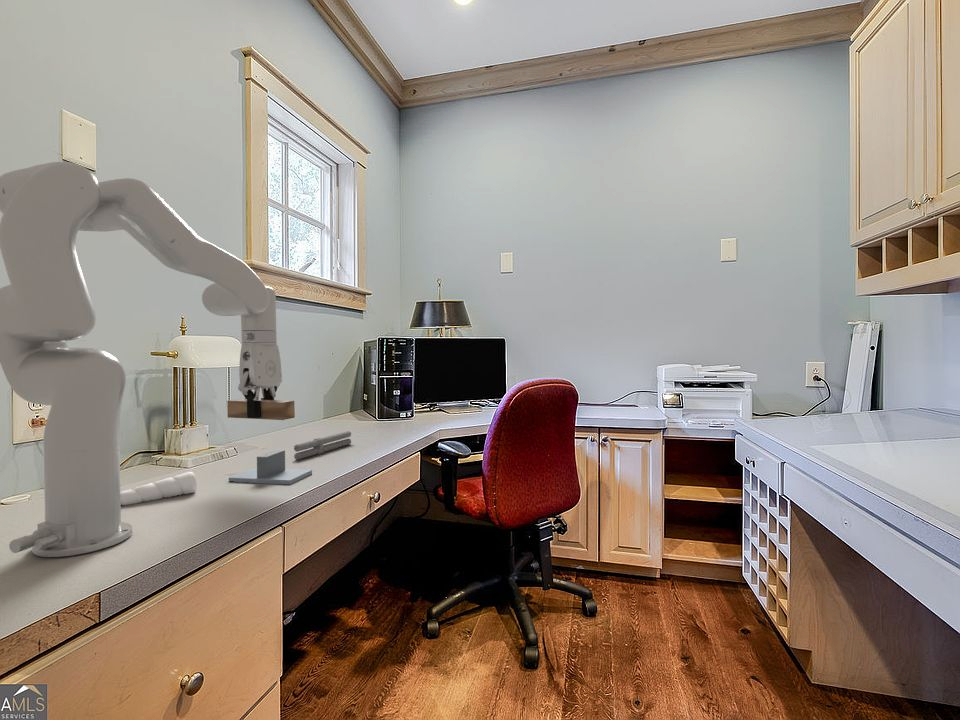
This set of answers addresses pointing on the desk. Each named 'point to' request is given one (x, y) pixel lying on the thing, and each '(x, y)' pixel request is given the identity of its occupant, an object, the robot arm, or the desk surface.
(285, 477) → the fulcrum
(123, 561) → the desk surface
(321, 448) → the metal rod assembly
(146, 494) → the unicorn horn
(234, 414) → the walnut bar
